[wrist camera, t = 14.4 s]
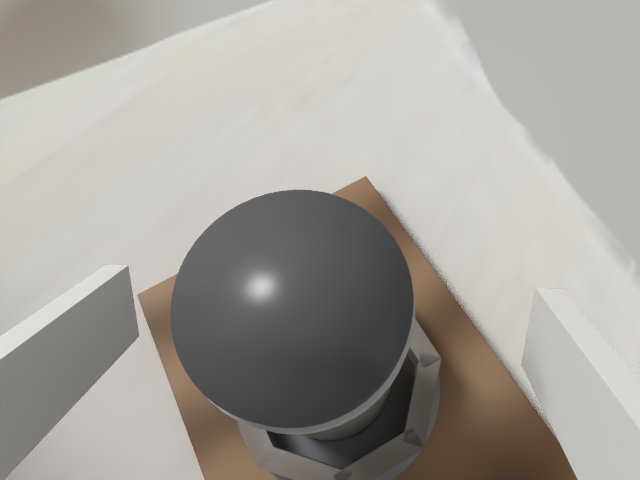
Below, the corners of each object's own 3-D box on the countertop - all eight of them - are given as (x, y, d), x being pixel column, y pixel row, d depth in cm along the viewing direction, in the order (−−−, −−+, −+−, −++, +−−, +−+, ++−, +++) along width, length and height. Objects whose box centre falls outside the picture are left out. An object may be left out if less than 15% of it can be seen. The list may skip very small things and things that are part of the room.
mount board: (146, 300, 28) (120, 283, 25) (366, 186, 30) (366, 157, 27) (287, 679, 20) (274, 718, 17) (578, 484, 22) (611, 489, 19)
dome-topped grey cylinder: (254, 356, 24) (134, 254, 12) (352, 301, 25) (337, 151, 13) (307, 468, 22) (224, 489, 9) (414, 402, 23) (472, 341, 10)
